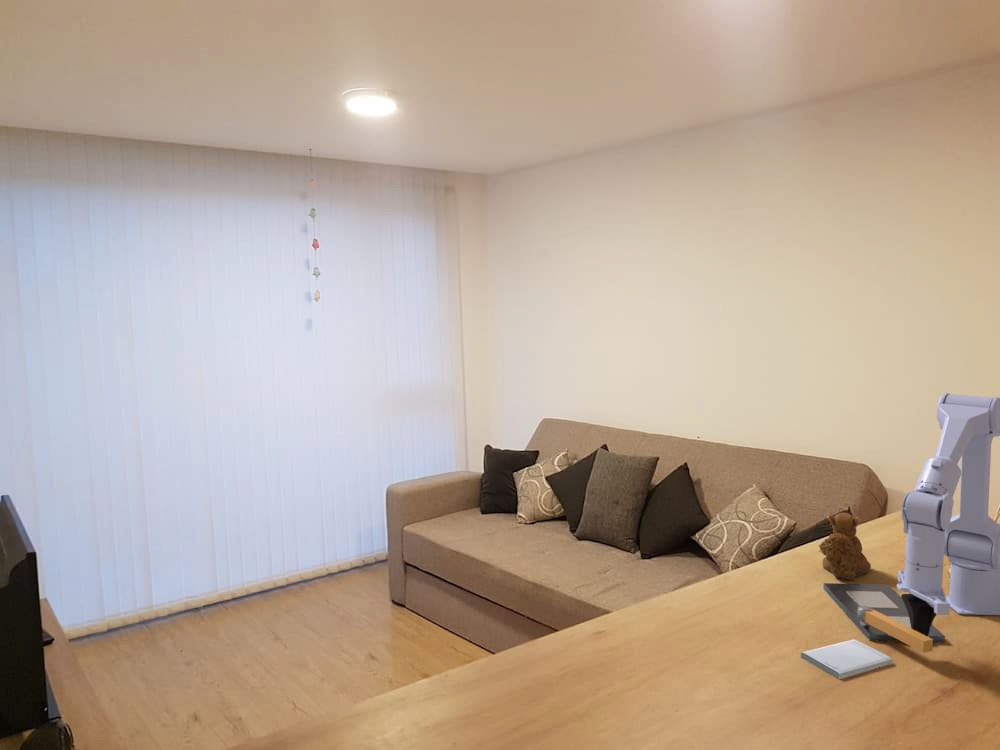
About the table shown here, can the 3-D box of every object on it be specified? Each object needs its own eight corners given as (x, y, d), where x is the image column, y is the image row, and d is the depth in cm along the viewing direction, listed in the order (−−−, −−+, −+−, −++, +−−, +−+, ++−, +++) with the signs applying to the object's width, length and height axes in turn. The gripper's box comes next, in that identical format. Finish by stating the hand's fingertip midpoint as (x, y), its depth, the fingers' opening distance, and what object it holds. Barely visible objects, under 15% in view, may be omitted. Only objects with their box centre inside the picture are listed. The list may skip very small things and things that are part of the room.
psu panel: (887, 590, 159) (887, 579, 159) (946, 643, 135) (946, 631, 135) (821, 588, 160) (822, 578, 160) (868, 641, 136) (869, 629, 136)
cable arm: (854, 617, 140) (854, 606, 140) (865, 615, 141) (865, 604, 141) (921, 652, 126) (922, 641, 126) (933, 650, 127) (934, 639, 127)
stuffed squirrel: (871, 567, 172) (874, 511, 171) (864, 588, 160) (867, 528, 159) (824, 559, 177) (826, 505, 176) (813, 579, 165) (816, 520, 164)
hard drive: (839, 673, 123) (893, 657, 128) (800, 651, 130) (853, 637, 135) (838, 683, 123) (892, 666, 128) (800, 660, 130) (852, 646, 135)
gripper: (882, 546, 137) (878, 618, 139) (919, 577, 123) (915, 656, 124) (922, 547, 136) (918, 619, 138) (965, 577, 122) (960, 658, 124)
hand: (919, 637), depth 131 cm, fingers closed, pressing on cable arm
